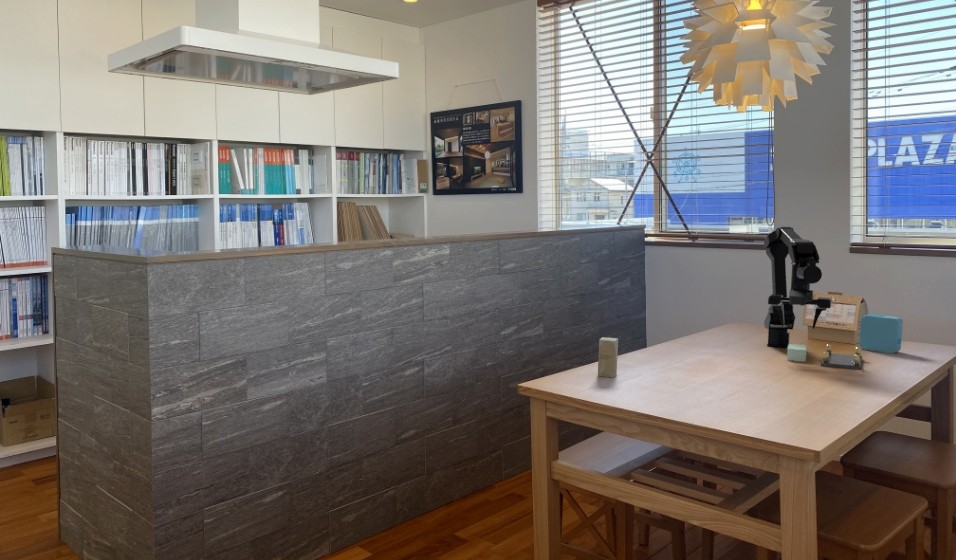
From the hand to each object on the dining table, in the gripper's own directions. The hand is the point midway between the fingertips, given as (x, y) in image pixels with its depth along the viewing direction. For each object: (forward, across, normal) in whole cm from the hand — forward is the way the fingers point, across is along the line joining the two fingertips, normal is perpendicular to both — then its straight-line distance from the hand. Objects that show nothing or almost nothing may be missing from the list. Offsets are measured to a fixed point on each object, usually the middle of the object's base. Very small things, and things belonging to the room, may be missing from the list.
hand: (798, 327), depth 252 cm
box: (+10, -47, -53) cm, 72 cm away
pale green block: (+10, 0, 0) cm, 10 cm away
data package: (+10, +24, +26) cm, 37 cm away
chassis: (+10, +14, -1) cm, 17 cm away
